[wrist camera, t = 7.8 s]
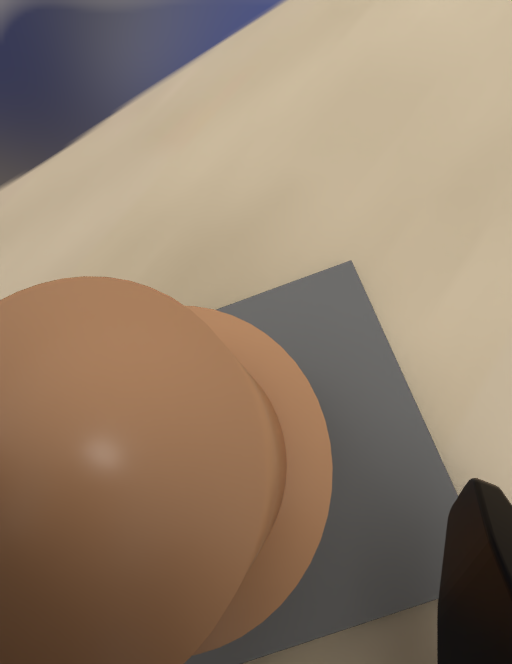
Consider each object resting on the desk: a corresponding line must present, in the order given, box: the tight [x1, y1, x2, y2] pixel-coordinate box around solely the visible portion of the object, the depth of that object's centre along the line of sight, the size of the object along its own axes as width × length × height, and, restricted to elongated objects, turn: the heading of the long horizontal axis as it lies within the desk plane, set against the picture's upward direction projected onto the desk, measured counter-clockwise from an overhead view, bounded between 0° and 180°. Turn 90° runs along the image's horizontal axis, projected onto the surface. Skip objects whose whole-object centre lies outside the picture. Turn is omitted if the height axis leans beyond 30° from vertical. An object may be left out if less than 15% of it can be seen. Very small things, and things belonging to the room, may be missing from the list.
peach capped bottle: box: [0, 276, 333, 664], centre depth 9 cm, size 5×5×12 cm
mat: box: [184, 261, 458, 664], centre depth 16 cm, size 12×12×1 cm
